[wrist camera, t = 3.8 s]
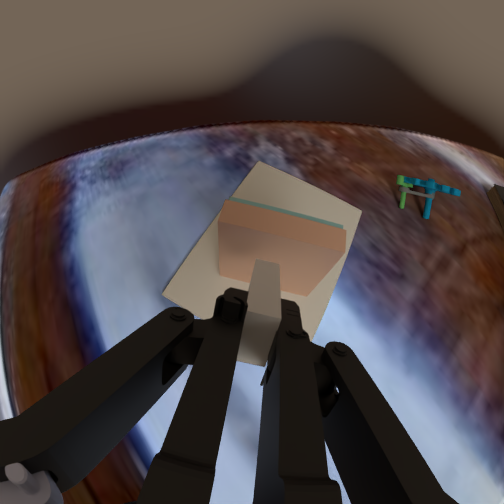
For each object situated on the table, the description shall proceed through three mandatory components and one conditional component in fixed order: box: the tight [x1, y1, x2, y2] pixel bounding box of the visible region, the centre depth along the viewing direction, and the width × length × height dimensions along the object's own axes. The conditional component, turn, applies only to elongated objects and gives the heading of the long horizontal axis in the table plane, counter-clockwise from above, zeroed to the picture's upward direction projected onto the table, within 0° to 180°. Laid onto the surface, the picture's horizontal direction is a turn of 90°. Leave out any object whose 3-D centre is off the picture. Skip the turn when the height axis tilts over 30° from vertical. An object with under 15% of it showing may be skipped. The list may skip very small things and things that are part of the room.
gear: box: [396, 175, 461, 219], centre depth 33 cm, size 11×6×10 cm
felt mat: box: [162, 161, 362, 341], centre depth 29 cm, size 15×21×1 cm
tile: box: [218, 197, 347, 297], centre depth 23 cm, size 2×9×10 cm, turn 77°
